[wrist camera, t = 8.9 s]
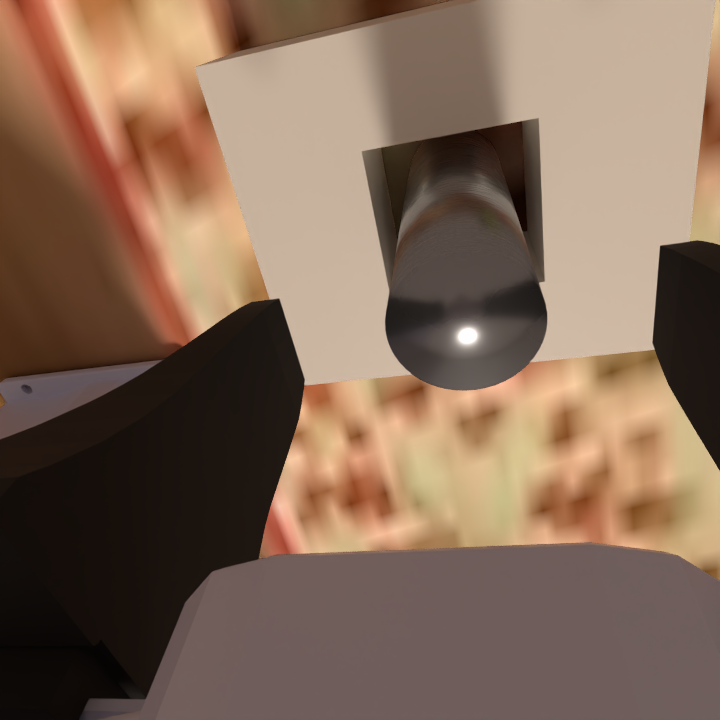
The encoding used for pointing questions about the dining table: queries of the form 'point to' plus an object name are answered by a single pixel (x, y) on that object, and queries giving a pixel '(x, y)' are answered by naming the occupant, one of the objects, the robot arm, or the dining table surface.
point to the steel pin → (462, 271)
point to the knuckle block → (461, 114)
